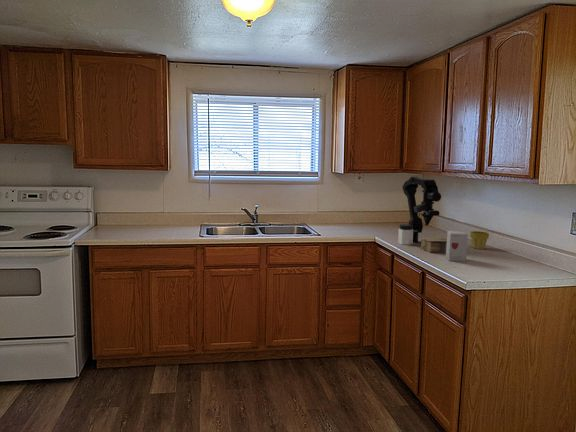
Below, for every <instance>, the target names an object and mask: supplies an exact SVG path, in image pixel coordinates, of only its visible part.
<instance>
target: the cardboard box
mask: <svg viewBox="0 0 576 432" xmlns="http://www.w3.org/2000/svg"><path fill="white" fill-rule="evenodd" d="M446 246H447V242H429V241H426V240H422V239H420V250H422V249H423V251H424V252H427V251H428V252H427V253H430V254H439V253H440V254H441V253H442V252H446ZM442 254H443V253H442Z"/></svg>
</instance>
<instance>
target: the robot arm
mask: <svg viewBox="0 0 576 432" xmlns="http://www.w3.org/2000/svg"><path fill="white" fill-rule="evenodd" d="M419 186H420V187H421V188H422V191H421V192H422V193H423V194H422V195H423V199H422V201H421V202H420V203H421V204H418V205H417V202H416V201H417V199H416V193H417V189H418V187H419ZM438 187H439V186H437V182H436V180H435V179H429V178H428V179H425V178H422V177H419V176H410V178H409V179H407V180H406V181H404V183H403V184H402V191H403V193H404V195H405V196H406V198H407V204H408V209H409V211H408V212H409V220H408V224H410V225H413V243H420V241H419V234H421V233H422V232H423V229H424V228H423V227H424V225H423V221H424V223H425V226H429V224H430V223H431V221H432V220H433V217H434V216H440V214H441V213H440V211H439V210H436V209H434V208H433V207H434V204H435V202H436V203H438V202H439V201H441V199H442V194H441V193H440V192H439V189H438ZM419 213H420V215H421V216H422V217H423V219H422V217H419Z"/></svg>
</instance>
